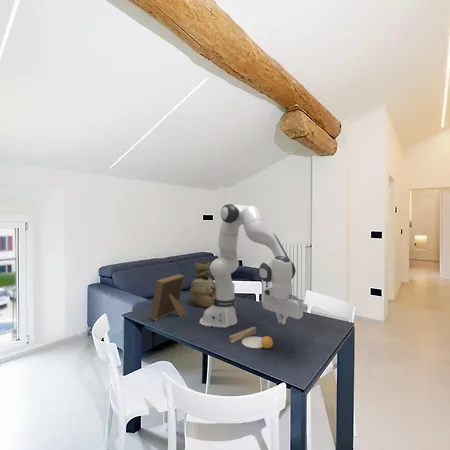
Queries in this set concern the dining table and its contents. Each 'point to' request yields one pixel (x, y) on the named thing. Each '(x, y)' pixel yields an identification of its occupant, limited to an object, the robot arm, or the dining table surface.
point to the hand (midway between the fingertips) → (281, 323)
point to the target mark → (252, 342)
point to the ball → (267, 342)
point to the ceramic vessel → (203, 286)
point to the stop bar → (242, 334)
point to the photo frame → (167, 296)
